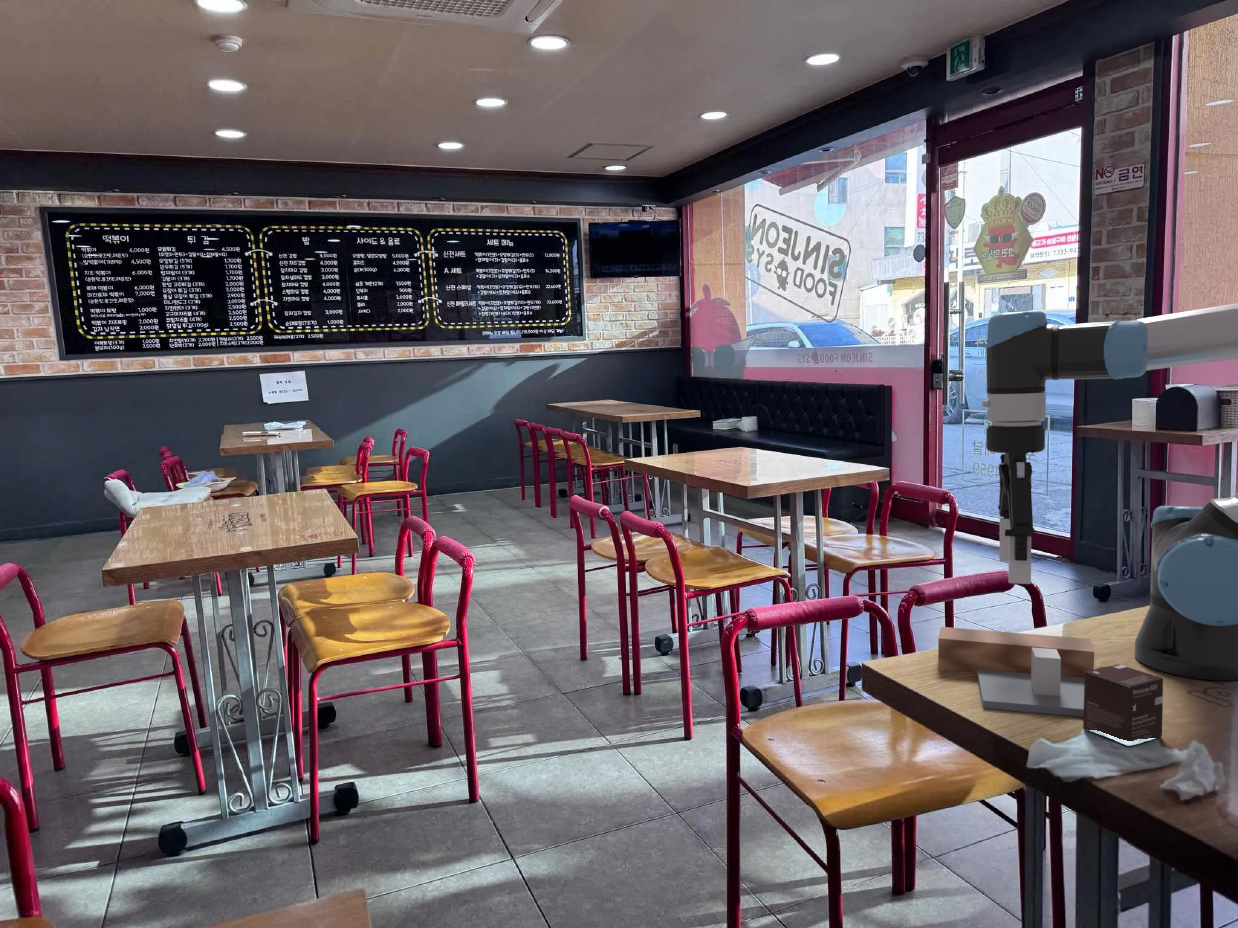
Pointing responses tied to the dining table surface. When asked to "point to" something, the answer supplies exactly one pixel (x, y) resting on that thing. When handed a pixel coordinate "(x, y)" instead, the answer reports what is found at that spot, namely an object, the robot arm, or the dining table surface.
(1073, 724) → the dining table surface
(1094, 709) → the box
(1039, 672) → the fulcrum
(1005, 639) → the cherry bar
